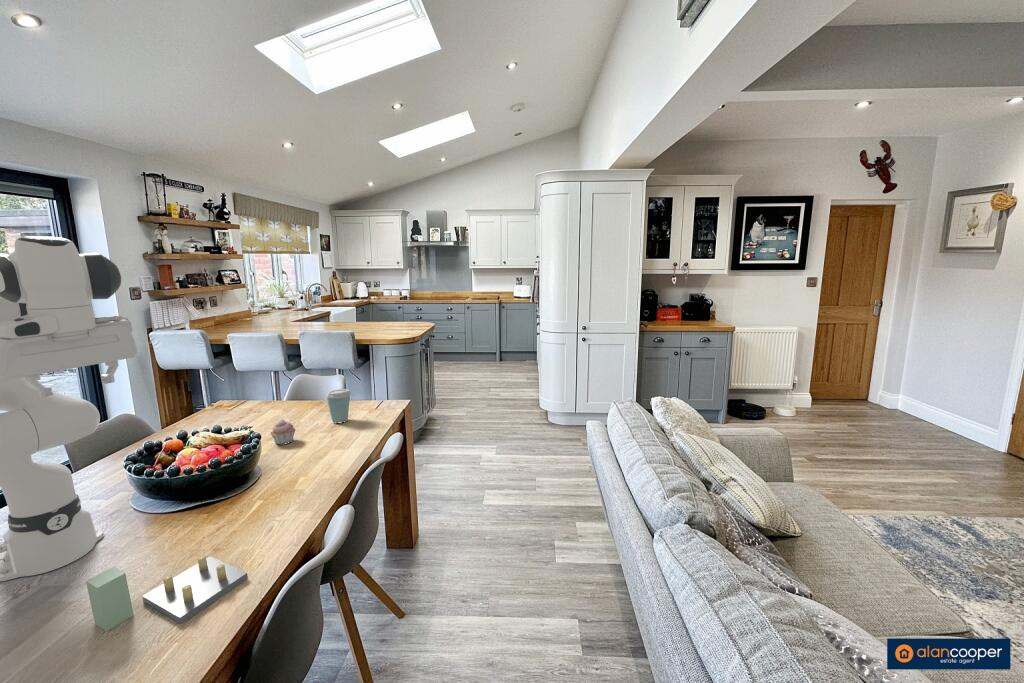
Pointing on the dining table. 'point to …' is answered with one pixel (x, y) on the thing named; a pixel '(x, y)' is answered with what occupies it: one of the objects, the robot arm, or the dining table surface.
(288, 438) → the cupcake
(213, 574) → the plate
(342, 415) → the disposable coffee cup
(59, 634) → the dining table surface
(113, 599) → the green block
